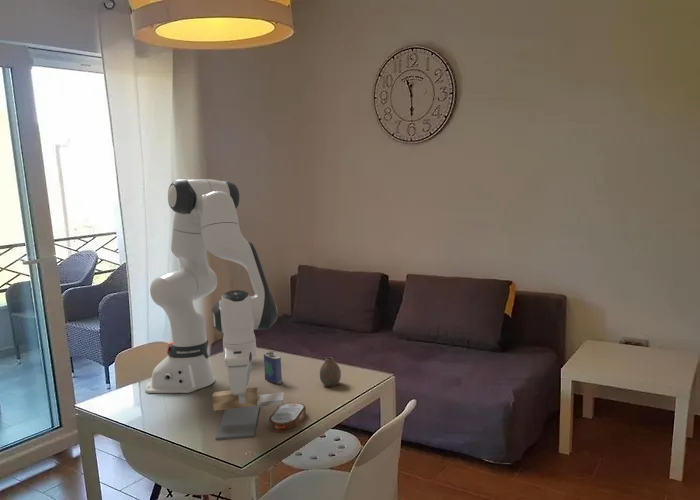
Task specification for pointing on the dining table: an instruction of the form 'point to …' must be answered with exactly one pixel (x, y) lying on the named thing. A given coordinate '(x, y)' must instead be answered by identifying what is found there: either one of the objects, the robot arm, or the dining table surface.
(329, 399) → the dining table surface
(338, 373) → the vase
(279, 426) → the tin
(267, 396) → the turner
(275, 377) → the flask
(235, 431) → the mat
